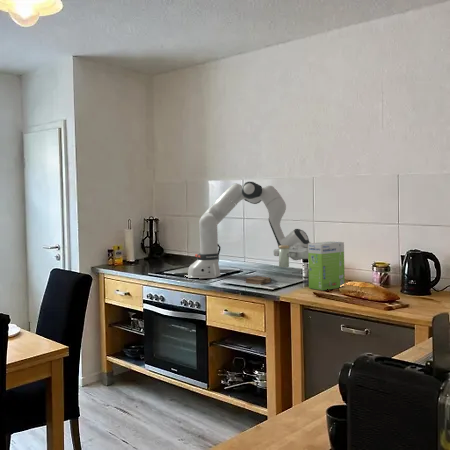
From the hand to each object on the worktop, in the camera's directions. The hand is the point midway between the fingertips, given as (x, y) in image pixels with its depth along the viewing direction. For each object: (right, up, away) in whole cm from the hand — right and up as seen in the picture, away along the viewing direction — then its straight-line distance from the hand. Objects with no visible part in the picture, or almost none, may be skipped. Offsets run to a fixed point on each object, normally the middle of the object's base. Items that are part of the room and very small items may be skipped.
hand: (282, 254), depth 283 cm
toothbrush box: (+22, -17, -10) cm, 30 cm away
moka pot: (-41, -14, +59) cm, 73 cm away
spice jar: (+1, -7, +1) cm, 7 cm away
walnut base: (-13, -16, +11) cm, 23 cm away
